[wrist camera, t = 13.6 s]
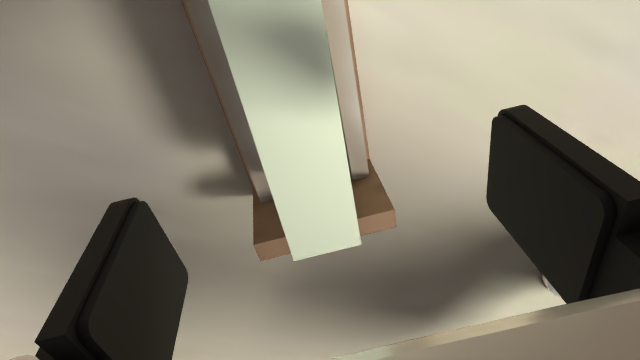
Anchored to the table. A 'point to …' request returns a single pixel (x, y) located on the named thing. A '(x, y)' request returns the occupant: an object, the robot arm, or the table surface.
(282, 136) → the door panel
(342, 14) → the stand
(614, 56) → the table surface
